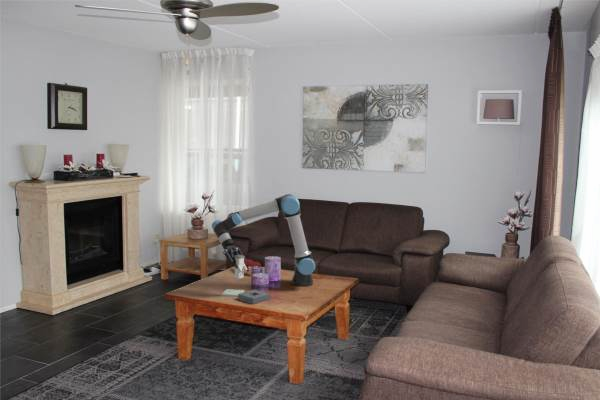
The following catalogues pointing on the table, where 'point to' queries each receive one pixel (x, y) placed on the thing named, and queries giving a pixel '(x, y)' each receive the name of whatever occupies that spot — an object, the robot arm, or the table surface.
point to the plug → (240, 261)
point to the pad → (232, 292)
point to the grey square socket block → (254, 296)
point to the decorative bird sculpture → (251, 264)
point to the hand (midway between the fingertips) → (243, 271)
